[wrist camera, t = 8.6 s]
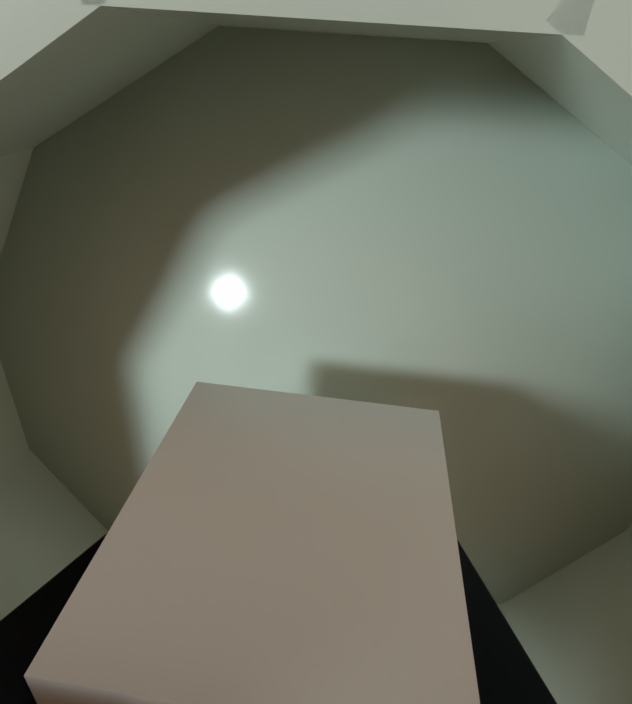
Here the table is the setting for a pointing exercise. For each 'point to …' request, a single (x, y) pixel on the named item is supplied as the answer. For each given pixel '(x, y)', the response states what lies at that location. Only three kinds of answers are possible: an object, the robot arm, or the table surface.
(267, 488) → the block
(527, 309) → the bowl
